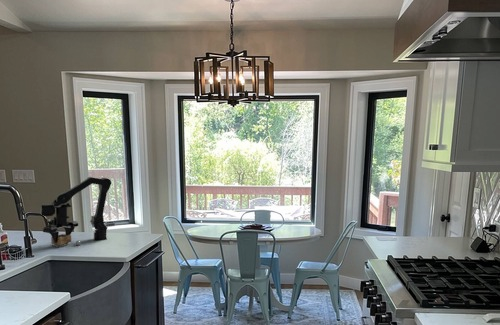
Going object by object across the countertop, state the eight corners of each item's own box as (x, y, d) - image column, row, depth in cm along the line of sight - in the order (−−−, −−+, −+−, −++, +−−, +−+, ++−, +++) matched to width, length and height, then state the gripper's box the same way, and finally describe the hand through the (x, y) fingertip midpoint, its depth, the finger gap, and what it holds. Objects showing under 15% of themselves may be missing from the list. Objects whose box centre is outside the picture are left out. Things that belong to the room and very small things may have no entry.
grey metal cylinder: (79, 244, 175) (79, 240, 175) (80, 245, 174) (80, 241, 174) (75, 245, 174) (75, 241, 174) (76, 246, 173) (76, 241, 173)
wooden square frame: (62, 240, 178) (62, 234, 178) (71, 241, 176) (71, 235, 176) (51, 243, 171) (51, 237, 171) (60, 245, 169) (60, 238, 169)
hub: (67, 242, 178) (67, 234, 178) (68, 245, 173) (68, 237, 173) (53, 244, 174) (53, 236, 174) (54, 247, 168) (54, 239, 168)
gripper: (65, 211, 184) (64, 235, 185) (35, 216, 166) (35, 244, 167) (79, 212, 181) (78, 237, 181) (50, 218, 163) (50, 246, 164)
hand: (61, 241), depth 173 cm, fingers closed on wooden square frame, 7 cm apart
